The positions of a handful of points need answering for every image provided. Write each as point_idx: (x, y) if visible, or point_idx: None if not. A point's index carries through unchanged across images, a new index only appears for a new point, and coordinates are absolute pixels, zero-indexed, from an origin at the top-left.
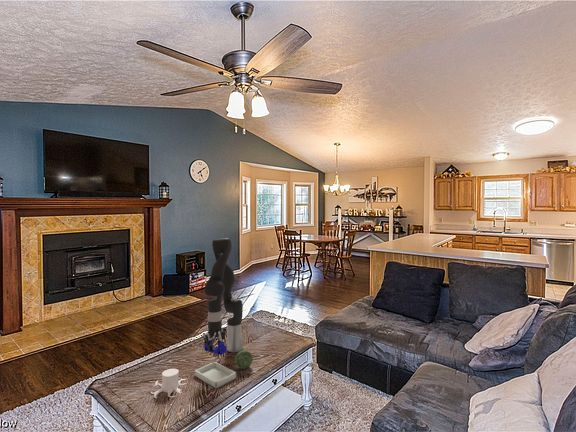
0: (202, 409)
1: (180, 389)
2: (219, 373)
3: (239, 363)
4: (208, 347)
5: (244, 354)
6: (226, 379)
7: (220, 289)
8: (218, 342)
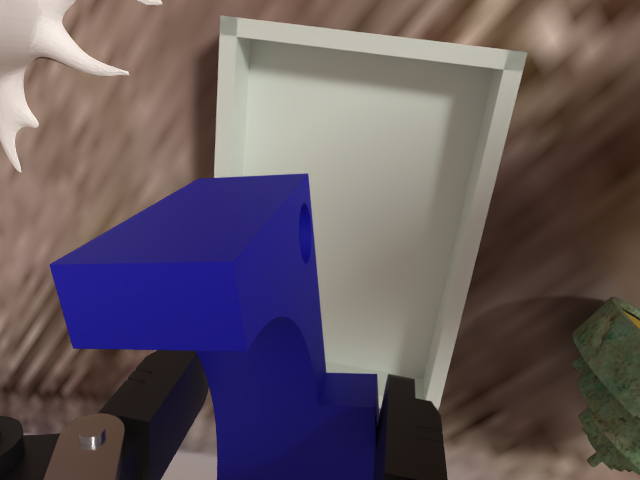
0: (35, 417)
1: (27, 117)
2: (400, 226)
3: (585, 379)
4: (123, 387)
5: None
6: None
7: None
8: (380, 474)
